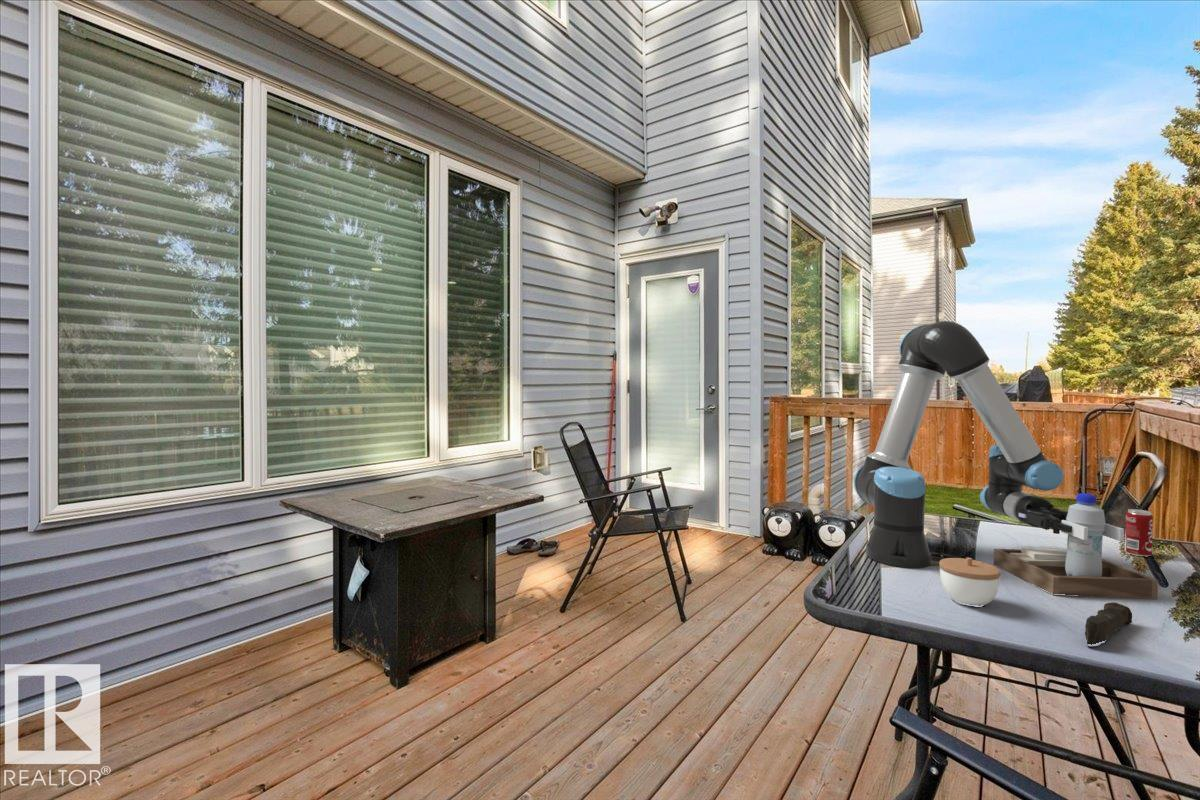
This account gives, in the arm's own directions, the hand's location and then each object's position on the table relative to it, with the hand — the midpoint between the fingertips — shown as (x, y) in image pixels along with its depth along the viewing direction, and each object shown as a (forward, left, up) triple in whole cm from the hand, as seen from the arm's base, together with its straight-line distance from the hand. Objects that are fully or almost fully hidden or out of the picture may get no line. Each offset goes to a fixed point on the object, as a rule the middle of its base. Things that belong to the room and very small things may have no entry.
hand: (1103, 534), depth 118 cm
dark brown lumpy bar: (-22, -12, -14) cm, 28 cm away
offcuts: (+6, +13, -12) cm, 19 cm away
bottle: (+2, +5, -12) cm, 13 cm away
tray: (+4, +8, -13) cm, 16 cm away
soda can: (+43, +14, -14) cm, 47 cm away
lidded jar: (-31, +8, -14) cm, 35 cm away
